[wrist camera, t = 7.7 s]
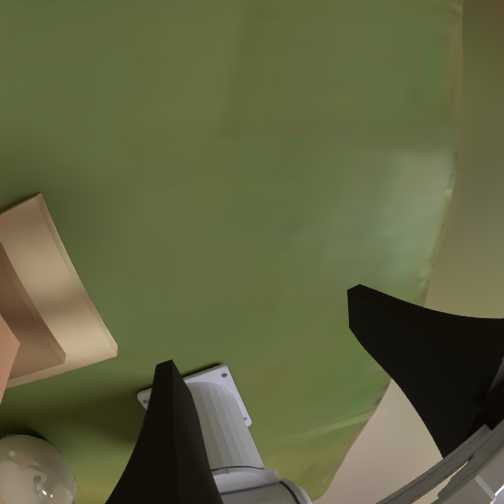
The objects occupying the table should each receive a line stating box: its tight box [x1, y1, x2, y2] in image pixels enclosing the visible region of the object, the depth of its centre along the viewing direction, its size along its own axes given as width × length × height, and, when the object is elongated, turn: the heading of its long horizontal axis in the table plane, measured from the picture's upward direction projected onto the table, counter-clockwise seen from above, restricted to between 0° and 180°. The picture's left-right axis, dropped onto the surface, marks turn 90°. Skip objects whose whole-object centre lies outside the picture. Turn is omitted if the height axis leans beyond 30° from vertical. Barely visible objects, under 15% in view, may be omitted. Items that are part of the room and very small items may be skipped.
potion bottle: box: [0, 434, 76, 504], centre depth 18 cm, size 9×10×15 cm
